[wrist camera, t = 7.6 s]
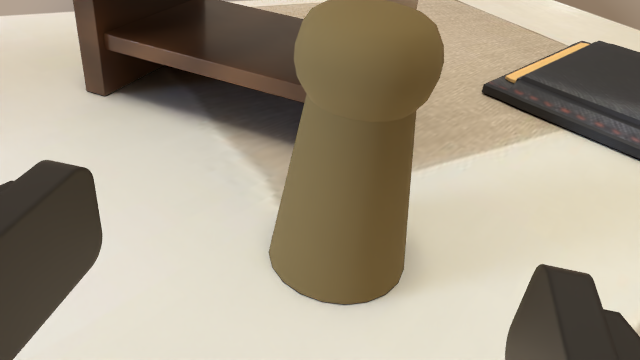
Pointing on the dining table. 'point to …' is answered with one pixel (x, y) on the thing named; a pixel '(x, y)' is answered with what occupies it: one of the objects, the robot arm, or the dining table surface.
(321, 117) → the cork
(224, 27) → the shelf
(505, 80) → the wallet
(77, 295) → the dining table surface
